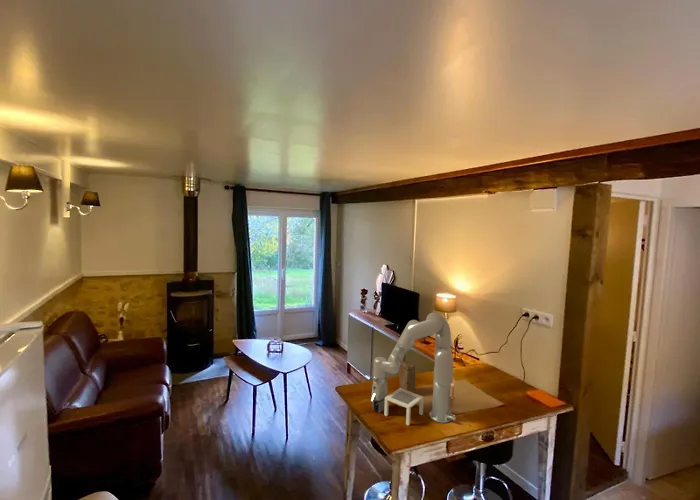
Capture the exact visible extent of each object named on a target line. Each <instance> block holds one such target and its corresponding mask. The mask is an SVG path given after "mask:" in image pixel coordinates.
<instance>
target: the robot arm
mask: <svg viewBox="0 0 700 500" xmlns="http://www.w3.org/2000/svg"><path fill="white" fill-rule="evenodd" d="M451 334H452V332H451V327H450V324H449V322H448V321H447V319H446V318H445V317H444V316H443V315H442V314H440V313H437V312H431V313H429V314H427V316H426V319H425V320H423V321H418V320H417V319H411V320H409V321H408V322H407V324H406V326H405V328H404V330H403V331H402V332H401V335H400V337H399V338H398V340H397V342H396V344H395V346H394V348H393V349H392V351H391V353H390V355H389V356H388V358H387V359H386V358H385V357H383V356H377V357H376V356H375V358H374V359H373V374H372V375H373V378H372V380H373V381H372V385H371V399H370V402H371V403H372V410H373V411H375V412H378V401H379V400H381V399H385V397H386V396H388V381H387V374H390V375H396V374H399V368H400V365H401V363H402V362H403V359H404V357H405V356H406V354H407V353H408V352H409V351H411V350H412V348H413V346H414V345H415V343H416V341H417V340H418V339H423V338H426V337H428V336H431V335H432V336H433V335H434V340H435V344H434V354H433V355H434V367H433V384H432V385H433V387H432V405H431V406H432V407H431V411H429V413H428V415H429V418H430V420H432V421H434V422H437V423H441V424H442V423H443V424H444V423H445V424H446V423H450V422H451V421H453V422H455V421H456V420H457V417H456V414H452V410H450V409H451V407H450V406H451V391H452V388H451V387H452V386H451V385H452V382H453V376H454V372H453V371H454V370H453V369H454V360H453V359H454V358H453V352H452V335H451ZM375 400H377V401H375ZM378 413H379V412H378Z"/></svg>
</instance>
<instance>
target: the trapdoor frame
mask: <svg viewBox="0 0 700 500" xmlns="http://www.w3.org/2000/svg"><path fill="white" fill-rule="evenodd" d="M400 392H404V393H407V394H409V395H412V396H415V397H417V398H416V399H414V400H413V401H412V402H410V403H409V404H406V403H404V402H401V401H398V400H396V399H393V398H392V397H394V396H395V395H397V394H398V393H400ZM424 400H425V399H424V395H423V396H422V395H420V394H418V393H415V392H414V393H412V392H409V391H407V390H404V389H401V388H399V387H398V388H397V389H396V390H395V391H392V392H391V393H389V394H387V396H386V397H385V406H384V410H383V413H384V415H383V416H385V417H387V416H389V403H393V404H395V405H397V406H398V407H403V408H406V410H405V411H406V414H405V417H406V418H405V425H406V426H410V425H411V410H412V409H411V408H412V407H414V406H415V405H417V404H418V403H419V409H418V410H419V411H418V415H420V416H422V415H423V414H424Z"/></svg>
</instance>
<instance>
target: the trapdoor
mask: <svg viewBox="0 0 700 500" xmlns="http://www.w3.org/2000/svg"><path fill="white" fill-rule="evenodd" d="M392 398H393V399H396V400H398V401H401V402H404V403H406V404H409V403H410V402H412V401H413V400H414V399H416V398H417V397H415V396H412V395H409V394H407V393H404V392H400V393H398V394H397V395H395V396H394V397H392Z"/></svg>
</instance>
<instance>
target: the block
mask: <svg viewBox="0 0 700 500" xmlns="http://www.w3.org/2000/svg"><path fill="white" fill-rule="evenodd" d="M398 377H399V379H398V382H399V383H398V389H399V388H401V389H404V390H407V391H409V392H412V393H415V391H416V389H415V388H416V366H415V364H414V363H413V362H411V361H402V362H401V363H400V368H399V371H398Z"/></svg>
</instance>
